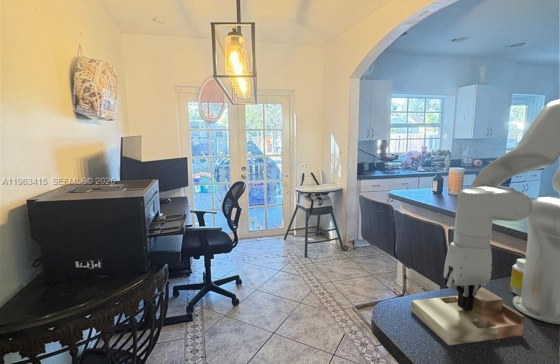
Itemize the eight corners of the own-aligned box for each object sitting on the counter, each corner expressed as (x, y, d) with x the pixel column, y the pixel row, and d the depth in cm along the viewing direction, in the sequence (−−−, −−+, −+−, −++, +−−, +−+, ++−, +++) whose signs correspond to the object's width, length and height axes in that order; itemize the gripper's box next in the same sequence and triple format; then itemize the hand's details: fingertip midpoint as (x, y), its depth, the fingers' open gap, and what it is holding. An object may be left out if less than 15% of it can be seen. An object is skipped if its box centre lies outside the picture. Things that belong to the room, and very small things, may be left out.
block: (481, 301, 80) (482, 287, 80) (501, 314, 74) (503, 299, 74) (462, 303, 79) (463, 289, 79) (481, 316, 73) (482, 301, 73)
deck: (474, 303, 84) (476, 287, 84) (522, 335, 71) (524, 316, 70) (411, 310, 81) (412, 293, 80) (448, 345, 67) (450, 325, 67)
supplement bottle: (529, 299, 87) (533, 266, 85) (506, 291, 91) (510, 260, 90) (535, 294, 90) (540, 262, 88) (513, 286, 94) (517, 256, 93)
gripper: (484, 232, 78) (477, 297, 80) (433, 236, 75) (428, 303, 78) (511, 242, 70) (503, 313, 73) (456, 246, 68) (449, 320, 70)
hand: (464, 308), depth 75 cm, fingers closed
